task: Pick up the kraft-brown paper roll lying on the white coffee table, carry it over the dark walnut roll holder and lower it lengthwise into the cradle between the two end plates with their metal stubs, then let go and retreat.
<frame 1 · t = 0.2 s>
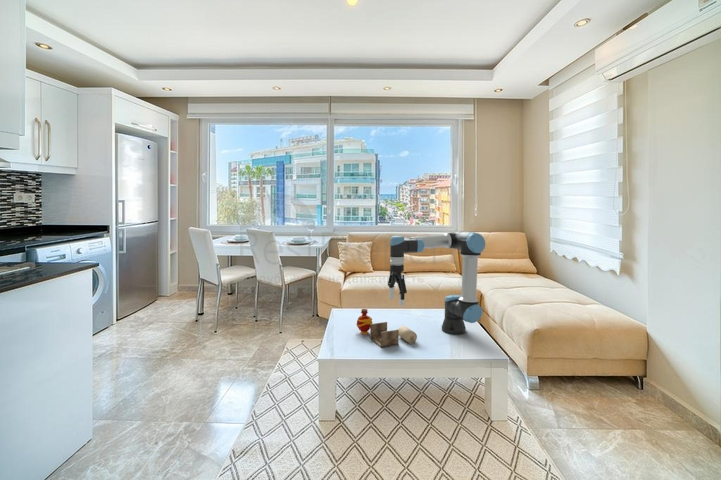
hand: (396, 302, 192), 27 cm above the table, fingers open, 13 cm apart
holder: (384, 341, 206), on the table
roll: (407, 340, 208), on the table
potion bottle: (364, 333, 221), on the table
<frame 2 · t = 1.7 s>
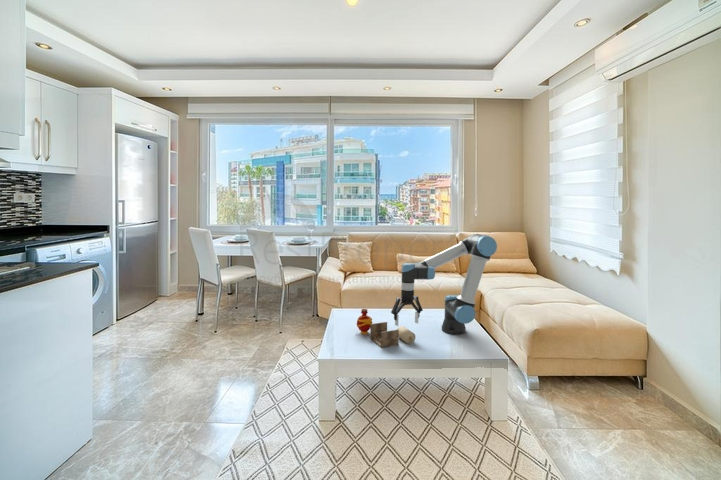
hand: (406, 324, 207), 10 cm above the table, fingers open, 13 cm apart
roll: (407, 339, 208), on the table, tilted 18°
everything else where it was.
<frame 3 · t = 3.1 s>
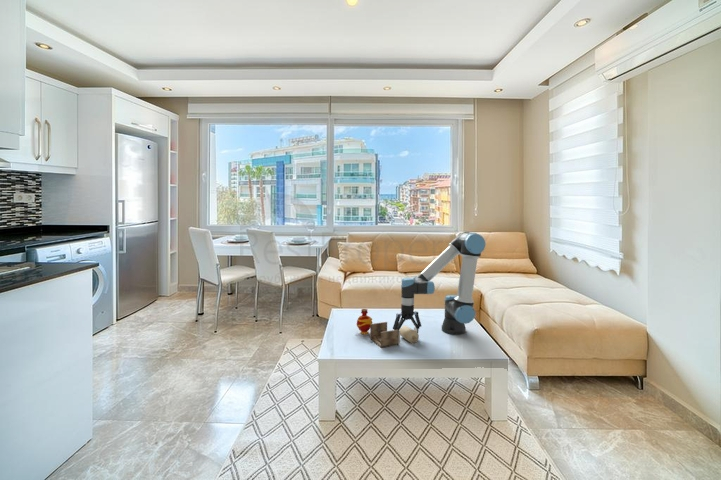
hand: (407, 339, 208), 0 cm above the table, fingers open, 11 cm apart
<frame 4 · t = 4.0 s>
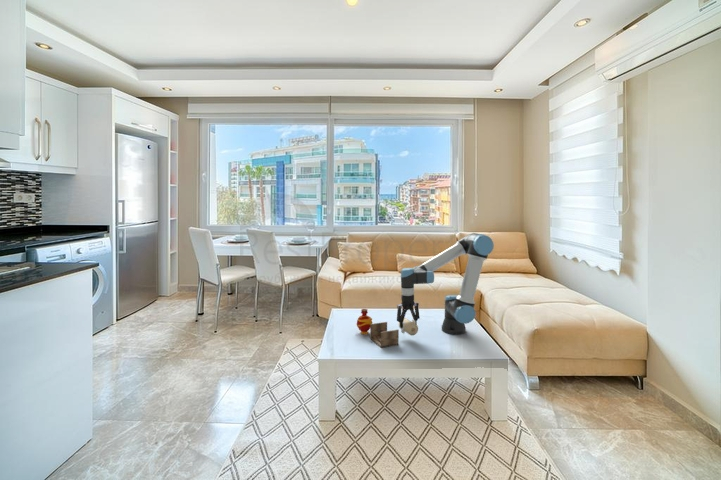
hand: (408, 331, 208), 5 cm above the table, fingers closed on roll, 7 cm apart
roll: (408, 332, 208), point 5 cm above the table, touching gripper
everything else where it was.
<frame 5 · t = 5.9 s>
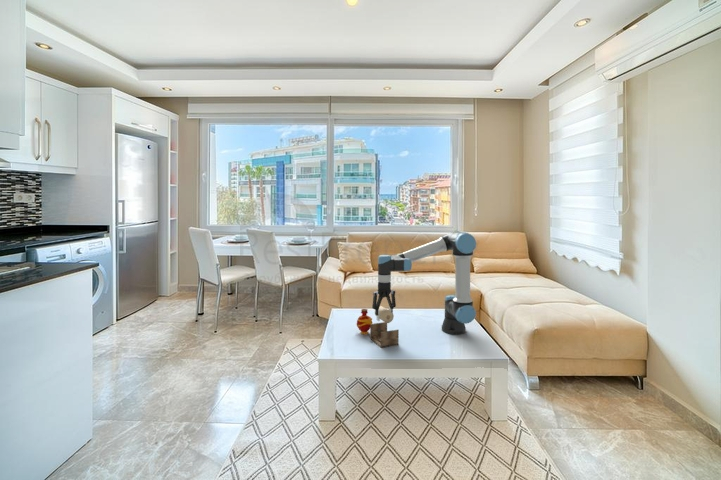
hand: (384, 319, 205), 13 cm above the table, fingers closed on roll, 7 cm apart
roll: (383, 320, 205), point 13 cm above the table, touching gripper
everything else where it was.
when the fingers open (2 cm above the table, at t = 7.7 s): roll stays where it is, resting on holder.
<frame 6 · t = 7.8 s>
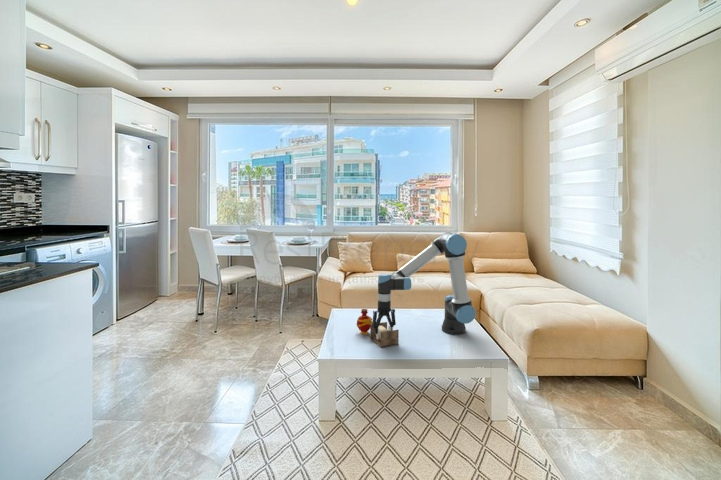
hand: (383, 337, 205), 2 cm above the table, fingers open, 7 cm apart
roll: (383, 340, 206), point 1 cm above the table, tilted 5°, touching holder
everything else where it was.
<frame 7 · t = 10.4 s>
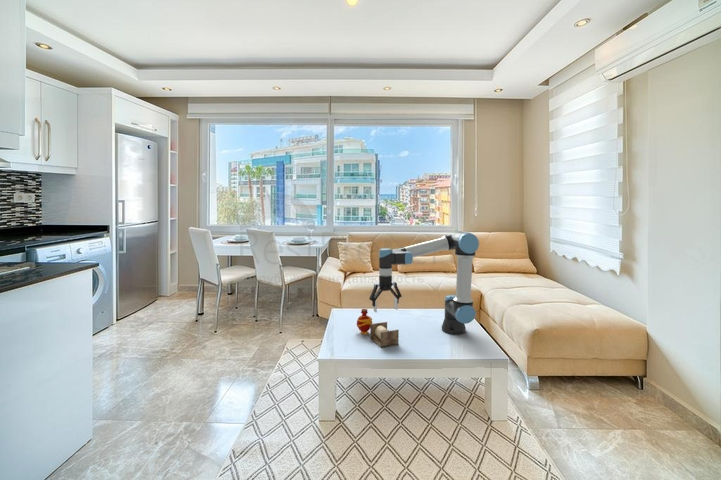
hand: (385, 310, 205), 19 cm above the table, fingers open, 13 cm apart
nothing on the table moved.
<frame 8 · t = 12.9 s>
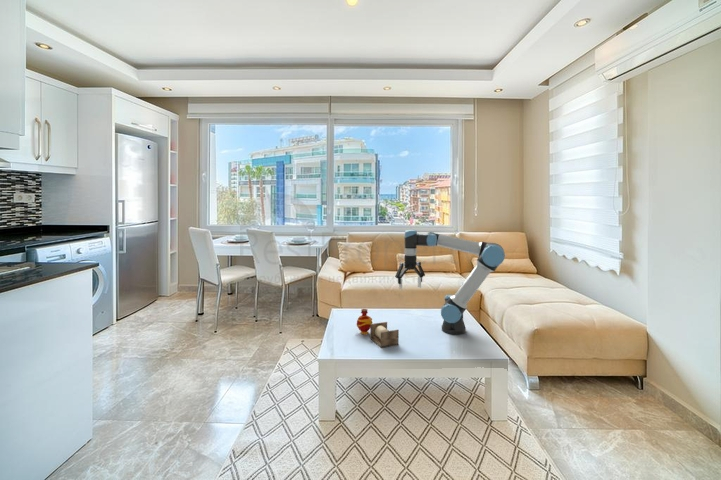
hand: (410, 288, 219), 29 cm above the table, fingers open, 13 cm apart
nothing on the table moved.
at the end: roll 0.5 cm off-centre on the holder, point 1.0 cm above the holder's base; the gripper is holding nothing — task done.
